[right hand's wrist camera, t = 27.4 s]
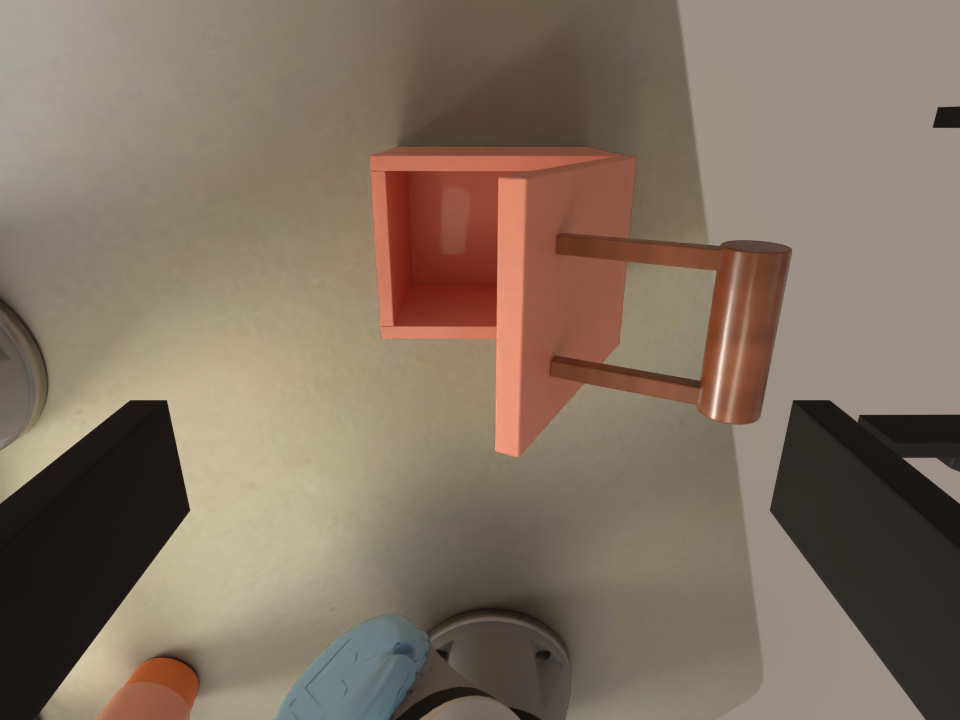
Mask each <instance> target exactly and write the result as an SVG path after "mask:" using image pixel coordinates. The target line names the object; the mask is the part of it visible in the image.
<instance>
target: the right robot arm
mask: <svg viewBox="0 0 960 720" xmlns="http://www.w3.org/2000/svg"><path fill="white" fill-rule="evenodd" d="M46 393H47V379H46V371H45V367H44V363H43V360H42V357H41V354H40V352H39V350H38V348H37V345H36V343H35V342H34V340H33V338H32V336H31V335H30V333H29V332H28V330H27V329H26V327H25V326H24V325H23V324H22V322H21V321H20V320H19V319H18V318H17V316H16V315H15V314H14V313H13V312H12V311H11V310H10V309H9V308H8V307H7V306H6V305H4V304H3V303H2V302H1V301H0V450H2V449H3V448H5V447H7V446H8V445H10V444H11V443H12V442H14V441H15V440H17V439H18V438H20V437H21V436H23V435H24V434H25V433H26V432H28V431H29V430H30V429H31V428H32V426H33V425H34V424H35V423H36V421H37V420H38V418H39V416H40V414H41V413H42V410H43V407H44V404H45V400H46ZM189 511H190V508H189V503H188V498H187V493H186V489H185V484H184V479H183V475H182V470H181V465H180V460H179V456H178V451H177V446H176V441H175V437H174V432H173V427H172V422H171V418H170V413H169V408H168V404H167V400H130V401H129V402H128V403H126V404H125V405H124V406H123V407H121V408H120V409H119V410H118V411H116V412H115V413H114V414H113V415H111V416H110V417H109V418H108V419H106V420H105V421H104V422H103V423H101V424H100V425H99V426H97V427H96V428H95V429H94V430H92V431H91V432H90V433H89V434H87V435H86V436H85V437H84V438H82V439H81V440H80V441H79V442H77V443H76V444H75V445H74V446H72V447H71V448H70V449H69V450H67V451H66V452H65V453H64V454H62V455H61V456H60V457H59V458H57V459H56V460H55V461H54V462H52V463H51V464H50V465H49V466H47V467H46V468H45V469H44V470H42V471H41V472H40V473H39V474H37V475H36V476H35V477H34V478H32V479H31V480H30V481H28V482H27V483H26V484H25V485H23V486H22V487H21V488H20V489H18V490H17V491H16V492H15V493H13V494H12V495H11V496H10V497H8V498H7V499H6V500H5V501H3V502H2V503H1V504H0V720H39V718H38V716H37V715H38V714H39V713H40V711H41V710H42V709H43V707H44V706H45V705H46V703H47V702H48V701H49V699H50V698H51V697H52V695H53V694H54V693H55V691H56V690H57V689H58V687H59V686H60V685H61V683H62V682H63V681H64V679H65V678H66V676H67V675H68V674H69V672H70V671H71V670H72V668H73V667H74V666H75V664H76V663H77V662H78V660H79V659H80V658H81V656H82V655H83V654H84V652H85V651H86V650H87V648H88V647H89V646H90V644H91V643H92V642H93V640H94V639H95V638H96V636H97V635H98V634H99V632H100V631H101V630H102V628H103V627H104V625H105V624H106V623H107V621H108V620H109V619H110V617H111V616H112V615H113V613H114V612H115V611H116V609H117V608H118V607H119V605H120V604H121V603H122V601H123V600H124V599H125V597H126V596H127V595H128V593H129V592H130V591H131V589H132V588H133V587H134V585H135V584H136V583H137V581H138V580H139V579H140V577H141V576H142V575H143V573H144V572H145V570H146V569H147V568H148V566H149V565H150V564H151V562H152V561H153V560H154V558H155V557H156V556H157V554H158V553H159V552H160V550H161V549H162V548H163V546H164V545H165V544H166V542H167V541H168V540H169V538H170V537H171V536H172V534H173V533H174V532H175V530H176V529H177V528H178V526H179V525H180V524H181V522H182V521H183V519H184V518H185V517H186V515H187V514H188V513H189ZM770 511H771V513H772V514H773V515H774V517H775V518H776V519H777V521H778V522H779V524H780V525H781V526H782V527H783V529H784V530H785V532H786V533H787V534H788V535H789V537H790V538H791V540H792V541H793V542H794V544H795V545H796V546H797V548H798V549H799V550H800V552H801V553H802V554H803V556H804V557H805V558H806V560H807V561H808V562H809V564H810V565H811V566H812V568H813V569H814V570H815V572H816V573H817V575H818V576H819V577H820V579H821V580H822V581H823V583H824V584H825V585H826V587H827V588H828V589H829V591H830V592H831V593H832V595H833V596H834V597H835V599H836V600H837V601H838V603H839V604H840V605H841V607H842V608H843V609H844V611H845V612H846V613H847V615H848V616H849V617H850V619H851V620H852V621H853V623H854V624H855V626H856V627H857V628H858V630H859V631H860V632H861V634H862V635H863V636H864V638H865V639H866V640H867V642H868V643H869V644H870V646H871V647H872V648H873V650H874V651H875V652H876V654H877V655H878V656H879V658H880V659H881V660H882V662H883V663H884V664H885V666H886V667H887V668H888V670H889V671H890V672H891V674H892V675H893V676H894V678H895V679H896V681H897V682H898V683H899V684H900V686H901V687H902V689H903V690H904V691H905V693H906V694H907V695H908V697H909V698H910V699H911V701H912V702H913V703H914V705H915V706H916V707H917V709H918V710H919V711H920V713H921V714H922V715H923V717H924V718H925V719H926V720H960V504H959V503H958V502H957V501H955V500H954V499H953V498H951V497H950V496H949V495H948V494H947V493H945V492H944V491H943V490H942V489H940V488H939V487H938V486H937V485H935V484H934V483H933V482H931V481H930V480H929V479H928V478H926V477H925V476H924V475H923V474H921V473H920V472H919V471H918V470H916V469H915V468H914V467H913V466H911V465H910V464H909V463H908V462H906V461H905V460H904V459H903V458H901V457H900V456H899V455H898V454H896V453H895V452H894V451H893V450H891V449H890V448H889V447H888V446H886V445H885V444H884V443H883V442H881V441H880V440H879V439H878V438H876V437H875V436H874V435H873V434H871V433H870V432H869V431H868V430H866V429H865V428H864V427H863V426H861V425H860V424H859V423H857V422H856V421H855V420H854V419H852V418H851V417H850V416H849V415H847V414H846V413H845V412H844V411H842V410H841V409H840V408H839V407H837V406H836V405H835V404H834V403H832V402H831V401H830V400H793V404H792V408H791V413H790V418H789V422H788V427H787V432H786V437H785V441H784V446H783V451H782V456H781V460H780V465H779V470H778V475H777V479H776V484H775V489H774V493H773V498H772V503H771V508H770Z"/></svg>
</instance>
